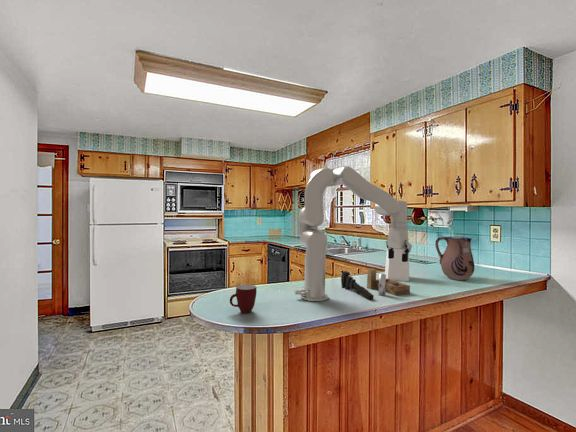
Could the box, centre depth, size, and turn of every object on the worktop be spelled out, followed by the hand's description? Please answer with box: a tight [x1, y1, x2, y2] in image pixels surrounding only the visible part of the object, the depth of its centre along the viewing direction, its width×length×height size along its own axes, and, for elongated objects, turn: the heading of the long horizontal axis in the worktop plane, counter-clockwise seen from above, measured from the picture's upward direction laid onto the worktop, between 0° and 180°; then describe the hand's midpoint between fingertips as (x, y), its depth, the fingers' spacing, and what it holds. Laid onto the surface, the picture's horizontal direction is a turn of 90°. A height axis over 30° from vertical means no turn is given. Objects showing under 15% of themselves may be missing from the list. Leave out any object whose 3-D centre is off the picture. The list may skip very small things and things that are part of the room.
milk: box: [384, 247, 410, 282], centre depth 190 cm, size 12×12×26 cm
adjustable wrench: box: [340, 270, 375, 301], centre depth 157 cm, size 8×3×25 cm
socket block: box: [376, 278, 411, 296], centre depth 162 cm, size 16×9×4 cm, turn 23°
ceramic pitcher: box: [435, 236, 475, 281], centre depth 192 cm, size 18×21×25 cm
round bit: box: [378, 273, 387, 297], centre depth 154 cm, size 3×3×10 cm
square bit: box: [366, 268, 377, 290], centre depth 166 cm, size 3×3×10 cm
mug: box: [229, 284, 257, 314], centre depth 126 cm, size 10×8×10 cm
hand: (397, 260), depth 158 cm, fingers open, 9 cm apart
